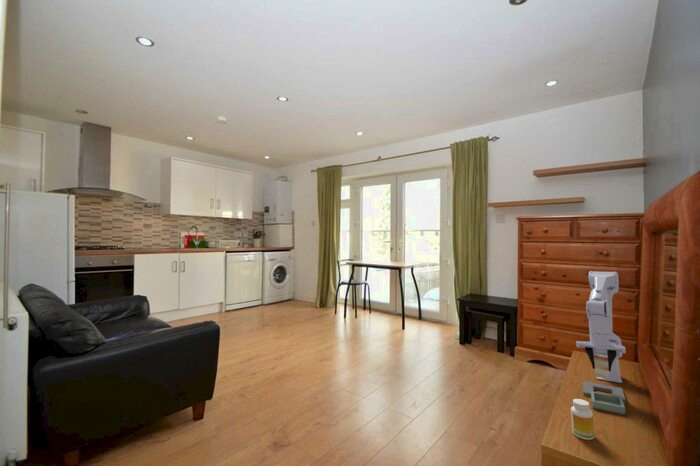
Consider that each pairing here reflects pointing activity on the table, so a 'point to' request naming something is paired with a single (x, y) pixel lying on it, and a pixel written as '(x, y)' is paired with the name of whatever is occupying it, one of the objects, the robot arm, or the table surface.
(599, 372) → the block
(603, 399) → the tray
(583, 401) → the supplement bottle
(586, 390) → the holder board
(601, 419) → the table surface
